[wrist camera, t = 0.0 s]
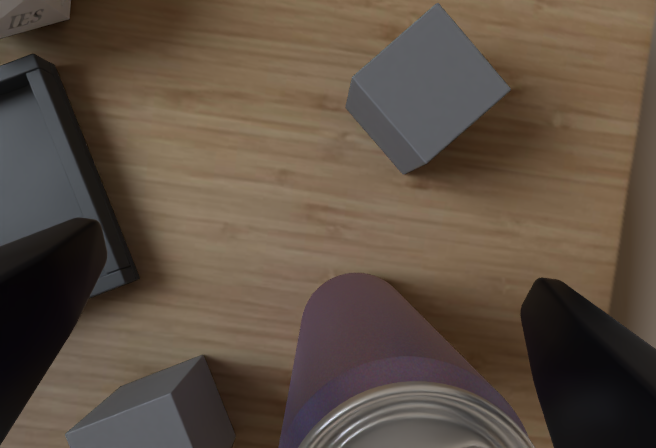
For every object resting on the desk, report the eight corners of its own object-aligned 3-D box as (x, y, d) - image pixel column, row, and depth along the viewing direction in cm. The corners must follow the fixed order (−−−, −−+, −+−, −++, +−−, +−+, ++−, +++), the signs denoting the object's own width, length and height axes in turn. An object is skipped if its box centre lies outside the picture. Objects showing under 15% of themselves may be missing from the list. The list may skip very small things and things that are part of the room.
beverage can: (289, 287, 23) (229, 424, 8) (391, 258, 23) (525, 340, 8) (318, 389, 23) (313, 711, 8) (419, 359, 23) (601, 625, 8)
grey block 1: (236, 436, 23) (212, 497, 18) (153, 468, 23) (106, 538, 18) (203, 353, 23) (171, 392, 18) (119, 386, 23) (64, 434, 18)
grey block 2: (470, 116, 23) (512, 89, 18) (403, 175, 23) (426, 164, 18) (412, 47, 23) (438, 1, 18) (344, 107, 23) (351, 77, 18)
